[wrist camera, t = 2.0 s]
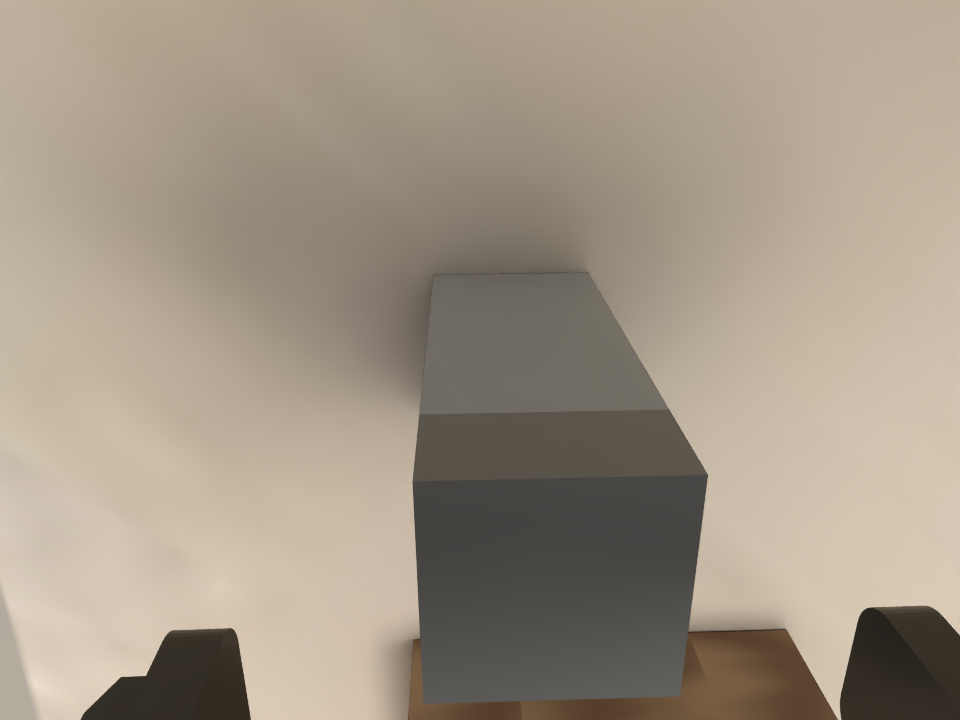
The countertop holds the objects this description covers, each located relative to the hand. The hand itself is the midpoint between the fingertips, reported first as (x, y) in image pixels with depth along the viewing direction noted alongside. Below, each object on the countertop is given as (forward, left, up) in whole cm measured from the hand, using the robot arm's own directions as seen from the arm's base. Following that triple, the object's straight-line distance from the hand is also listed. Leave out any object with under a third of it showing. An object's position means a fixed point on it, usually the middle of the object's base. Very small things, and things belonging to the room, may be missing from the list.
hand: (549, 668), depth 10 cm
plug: (0, 0, -11) cm, 11 cm away
